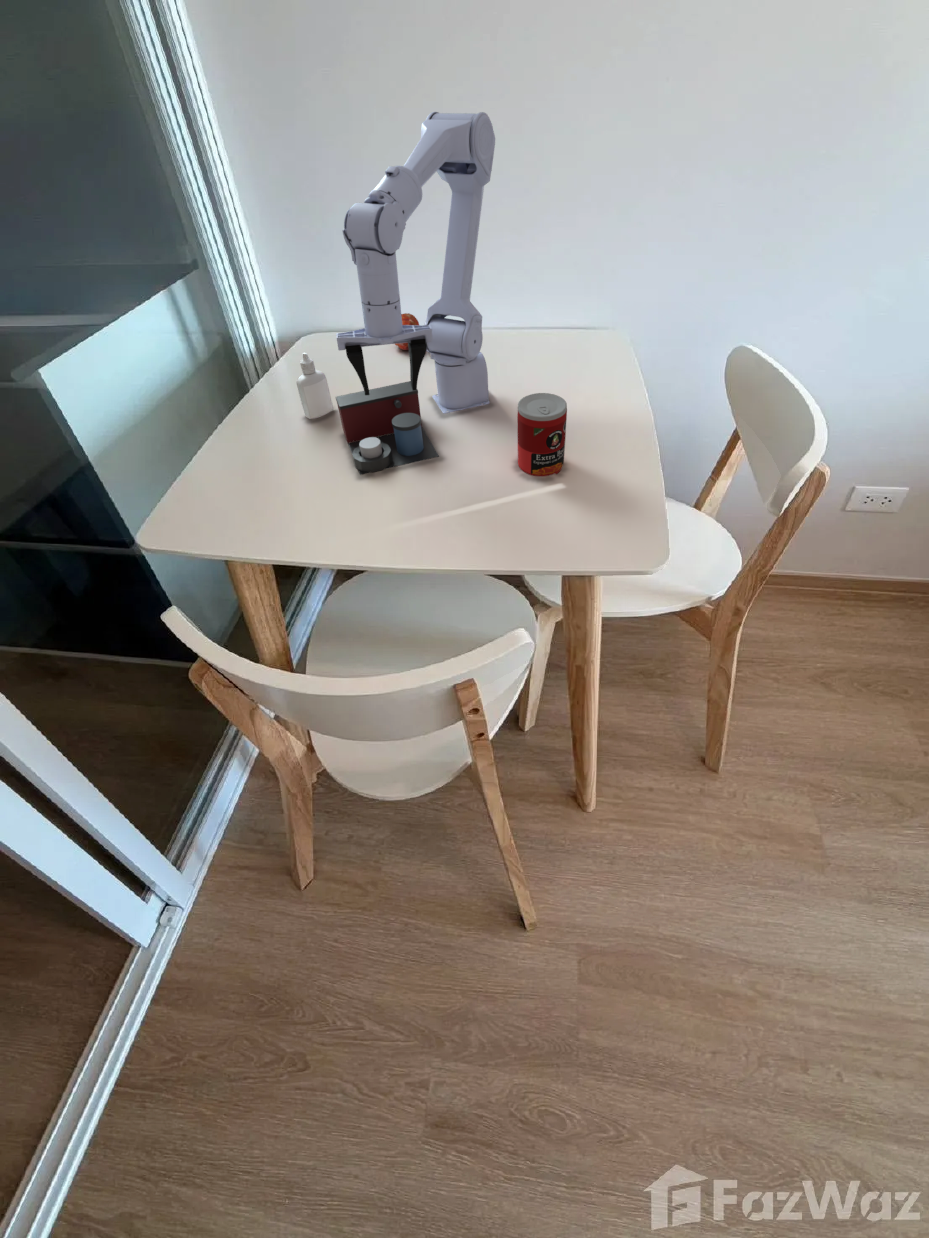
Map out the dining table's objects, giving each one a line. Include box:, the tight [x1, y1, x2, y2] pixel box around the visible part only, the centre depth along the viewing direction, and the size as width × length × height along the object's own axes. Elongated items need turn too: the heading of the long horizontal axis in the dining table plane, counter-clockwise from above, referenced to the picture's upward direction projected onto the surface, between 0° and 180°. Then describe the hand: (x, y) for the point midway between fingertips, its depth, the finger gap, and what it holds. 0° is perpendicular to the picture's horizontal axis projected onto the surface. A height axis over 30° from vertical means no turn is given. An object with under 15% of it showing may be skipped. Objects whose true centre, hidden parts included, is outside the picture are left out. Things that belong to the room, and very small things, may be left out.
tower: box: [335, 380, 423, 444], centre depth 112 cm, size 5×14×8 cm, turn 108°
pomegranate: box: [394, 312, 420, 351], centre depth 138 cm, size 7×7×10 cm
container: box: [392, 413, 424, 456], centre depth 107 cm, size 5×5×6 cm
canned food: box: [516, 392, 568, 477], centre depth 100 cm, size 8×8×11 cm
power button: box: [359, 437, 382, 458], centre depth 105 cm, size 4×4×2 cm
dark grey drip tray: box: [347, 426, 440, 476], centre depth 109 cm, size 11×14×3 cm
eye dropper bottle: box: [296, 352, 334, 420], centre depth 117 cm, size 4×6×12 cm
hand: (390, 390), depth 101 cm, fingers open, 7 cm apart
